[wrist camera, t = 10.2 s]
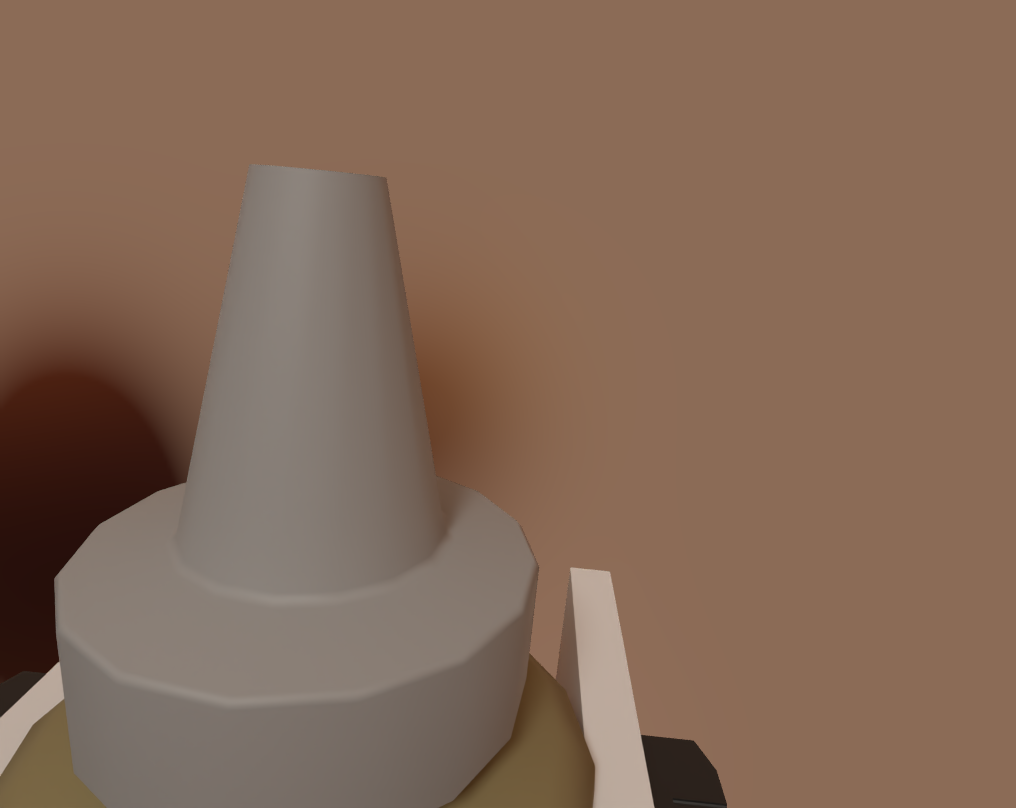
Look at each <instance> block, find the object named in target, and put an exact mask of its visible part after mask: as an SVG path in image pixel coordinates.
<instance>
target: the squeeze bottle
mask: <svg viewBox="0 0 1016 808" xmlns="http://www.w3.org/2000/svg"><path fill="white" fill-rule="evenodd" d="M538 572H539V566H538V563H537V561H536V559H535V556H534V554H533V552H532V550H531V547H530V545H529V543H528V541H527V538H526V536H525V534H524V532H523V529H522V527H521V526H520V524H519V523H518V522H517V521H516V520H515V519H514V518H512V517H511V516H510V515H508V514H507V513H506V512H504V511H503V510H502V509H500V508H499V507H498V506H497V505H495V504H494V503H493V502H491V501H490V500H489V499H487V498H486V497H485V496H483V495H482V494H481V493H479V492H478V491H476V490H473V489H470V488H468V487H465V486H462V485H460V484H457V483H454V482H452V481H449V480H446V479H443V478H441V477H438V476H436V474H435V467H434V462H433V455H432V450H431V443H430V438H429V431H428V425H427V420H426V414H425V407H424V401H423V396H422V390H421V383H420V378H419V372H418V365H417V359H416V353H415V348H414V341H413V335H412V329H411V323H410V317H409V311H408V305H407V299H406V293H405V287H404V282H403V275H402V269H401V263H400V257H399V251H398V245H397V239H396V233H395V227H394V221H393V215H392V210H391V203H390V197H389V191H388V186H387V179H386V178H385V177H378V176H370V175H361V174H353V173H343V172H333V171H323V170H313V169H303V168H291V167H280V166H267V165H249V170H248V175H247V180H246V185H245V190H244V195H243V200H242V205H241V211H240V215H239V221H238V225H237V231H236V235H235V241H234V245H233V251H232V255H231V261H230V266H229V271H228V276H227V281H226V286H225V291H224V296H223V301H222V306H221V311H220V316H219V321H218V326H217V332H216V336H215V341H214V346H213V352H212V357H211V362H210V367H209V372H208V377H207V382H206V387H205V392H204V397H203V402H202V407H201V412H200V417H199V422H198V428H197V432H196V437H195V443H194V448H193V453H192V458H191V463H190V468H189V473H188V478H187V483H184V484H180V485H177V486H174V487H171V488H167V489H164V490H161V491H158V492H156V493H154V494H153V495H151V496H149V497H147V498H146V499H144V500H142V501H140V502H139V503H137V504H135V505H133V506H131V507H130V508H128V509H126V510H124V511H123V512H121V513H119V514H117V515H115V516H114V517H112V518H110V519H108V520H107V521H105V522H103V523H101V524H100V525H99V526H98V527H97V528H96V529H95V530H94V531H93V532H92V533H91V535H90V536H89V537H88V538H87V539H86V541H85V542H84V543H83V545H82V546H81V547H80V548H79V549H78V551H77V552H76V553H75V554H74V556H73V557H72V558H71V559H70V560H69V561H68V563H67V564H66V565H65V567H64V568H63V569H62V570H61V571H60V573H59V574H58V575H57V576H56V577H55V579H54V580H55V610H56V636H57V643H58V652H59V660H60V668H61V676H62V684H63V692H64V699H63V700H62V701H61V702H60V703H58V704H57V705H56V706H55V707H54V708H52V709H51V710H50V711H49V712H48V713H46V714H45V715H44V716H43V717H42V718H40V719H39V720H38V721H37V722H36V723H34V724H33V725H32V727H31V729H30V730H29V732H28V733H27V735H26V736H25V738H24V740H23V741H22V743H21V744H20V746H19V747H18V749H17V751H16V752H15V754H14V755H13V757H12V758H11V760H10V762H9V763H8V765H7V766H6V768H5V769H4V771H3V773H2V774H1V776H0V808H593V799H594V788H595V764H594V762H593V759H592V757H591V754H590V751H589V749H588V746H587V744H586V741H585V738H584V736H583V733H582V731H581V728H580V726H579V723H578V720H577V718H576V715H575V713H574V710H573V707H572V705H571V702H570V700H569V697H568V695H567V692H566V690H565V689H564V688H563V687H562V686H561V685H560V684H559V683H558V682H557V681H556V680H555V679H554V678H553V677H552V676H551V675H550V674H549V673H548V672H547V671H546V670H545V669H544V668H543V667H542V666H541V665H540V664H539V663H538V662H537V661H536V660H535V659H534V658H533V656H532V655H531V654H530V653H529V651H530V642H531V634H532V624H533V616H534V608H535V598H536V589H537V581H538Z"/></svg>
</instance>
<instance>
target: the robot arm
mask: <svg viewBox="0 0 1016 808" xmlns="http://www.w3.org/2000/svg"><path fill="white" fill-rule="evenodd" d="M556 681H557V682H558V683H559V684H560V685H561V686H562V687H563V688H564V689H565V690H566V692H567V695H568V697H569V700H570V702H571V705H572V707H573V710H574V713H575V715H576V718H577V720H578V723H579V726H580V728H581V731H582V733H583V736H584V738H585V741H586V744H587V746H588V749H589V751H590V754H591V757H592V759H593V762H594V764H595V788H594V799H593V808H727V803H726V800H725V796H724V793H723V790H722V787H721V783H720V780H719V777H718V774H717V771H716V769H715V768H714V767H713V766H712V764H711V763H710V761H709V760H708V759H707V757H706V756H705V755H704V754H703V752H702V751H701V750H700V748H699V747H698V746H697V744H696V743H695V742H694V741H691V740H682V739H673V738H663V737H654V736H645V735H641V734H640V729H639V724H638V718H637V714H636V708H635V703H634V697H633V692H632V687H631V681H630V677H629V671H628V666H627V660H626V655H625V649H624V644H623V639H622V634H621V628H620V623H619V618H618V612H617V607H616V602H615V597H614V591H613V586H612V581H611V575H610V572H609V571H599V570H589V569H580V568H570V575H569V583H568V590H567V598H566V606H565V613H564V621H563V629H562V636H561V644H560V652H559V659H558V667H557V675H556ZM63 699H64V692H63V684H62V676H61V668H60V662H58V663H57V664H56V665H55V666H54V667H53V668H52V669H51V670H50V671H49V672H48V673H47V674H46V673H37V672H28V671H23V672H21V673H19V674H17V675H16V676H14V677H12V678H10V679H8V680H6V681H5V682H3V683H1V684H0V776H1V774H2V773H3V771H4V769H5V768H6V766H7V765H8V763H9V762H10V760H11V758H12V757H13V755H14V754H15V752H16V751H17V749H18V747H19V746H20V744H21V743H22V741H23V740H24V738H25V736H26V735H27V733H28V732H29V730H30V729H31V727H32V725H33V724H34V723H36V722H37V721H38V720H39V719H40V718H42V717H43V716H44V715H45V714H46V713H48V712H49V711H50V710H51V709H52V708H54V707H55V706H56V705H57V704H58V703H60V702H61V701H62V700H63Z"/></svg>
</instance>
